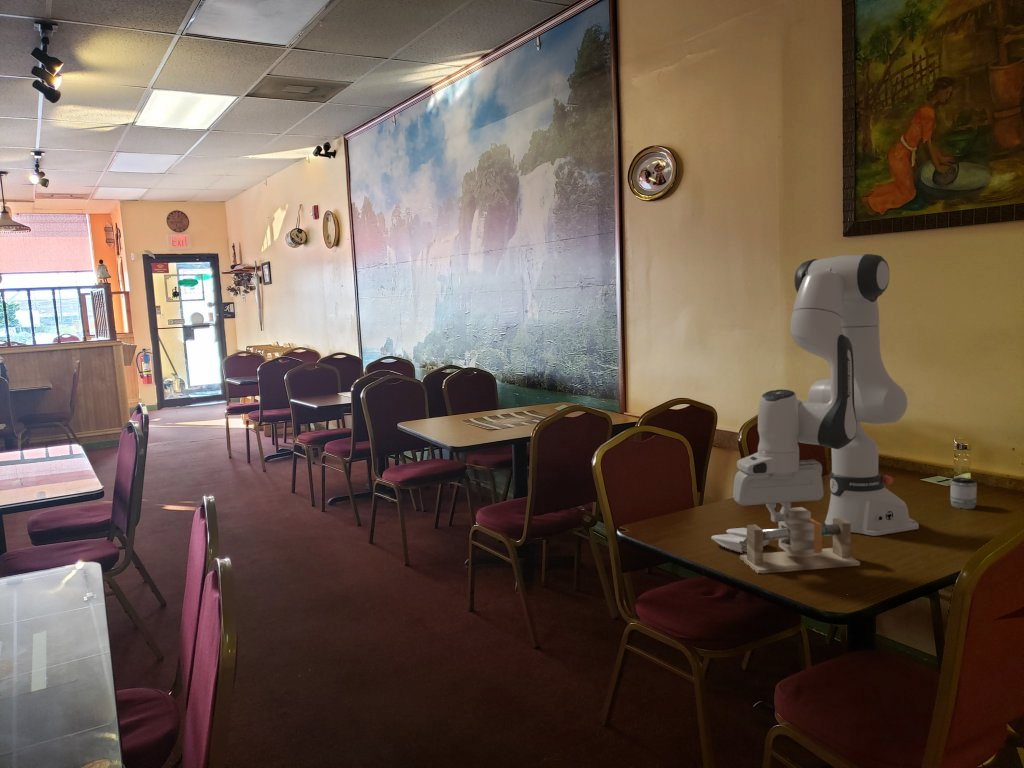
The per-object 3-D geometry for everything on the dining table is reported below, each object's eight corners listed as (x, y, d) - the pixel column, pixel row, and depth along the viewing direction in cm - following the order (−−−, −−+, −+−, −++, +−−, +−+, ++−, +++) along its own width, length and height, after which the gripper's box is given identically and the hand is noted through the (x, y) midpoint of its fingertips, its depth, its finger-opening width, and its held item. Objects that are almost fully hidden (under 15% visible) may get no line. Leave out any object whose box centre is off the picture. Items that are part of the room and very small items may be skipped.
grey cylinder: (981, 509, 201) (981, 481, 200) (958, 509, 201) (959, 482, 200) (967, 503, 207) (968, 476, 207) (945, 503, 208) (945, 477, 207)
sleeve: (798, 544, 171) (798, 505, 170) (814, 554, 164) (814, 513, 163) (778, 546, 170) (778, 506, 169) (793, 556, 163) (793, 515, 162)
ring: (807, 543, 170) (807, 516, 170) (822, 552, 164) (822, 524, 163) (799, 543, 170) (799, 517, 170) (813, 553, 164) (813, 525, 163)
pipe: (834, 533, 169) (834, 522, 169) (840, 536, 166) (840, 525, 166) (756, 539, 167) (756, 528, 167) (761, 542, 164) (761, 531, 164)
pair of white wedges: (774, 547, 178) (739, 536, 188) (773, 530, 178) (738, 521, 188) (739, 557, 172) (705, 546, 182) (739, 540, 172) (705, 530, 182)
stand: (835, 550, 173) (835, 514, 172) (860, 565, 163) (860, 526, 163) (739, 558, 171) (739, 521, 170) (758, 573, 161) (758, 534, 160)
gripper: (814, 456, 168) (814, 514, 170) (730, 461, 166) (730, 520, 168) (829, 461, 162) (828, 521, 164) (741, 467, 160) (742, 528, 162)
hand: (778, 521), depth 166 cm, fingers closed
